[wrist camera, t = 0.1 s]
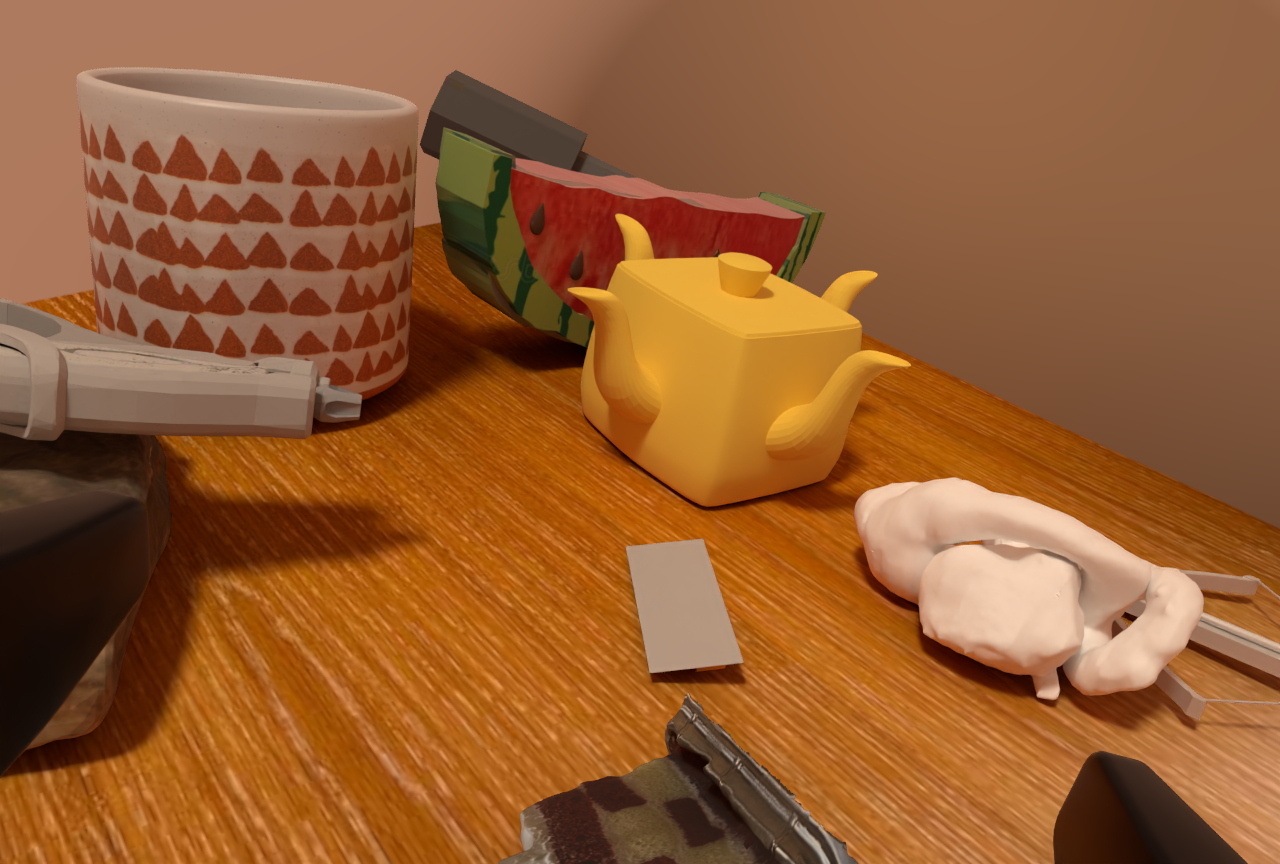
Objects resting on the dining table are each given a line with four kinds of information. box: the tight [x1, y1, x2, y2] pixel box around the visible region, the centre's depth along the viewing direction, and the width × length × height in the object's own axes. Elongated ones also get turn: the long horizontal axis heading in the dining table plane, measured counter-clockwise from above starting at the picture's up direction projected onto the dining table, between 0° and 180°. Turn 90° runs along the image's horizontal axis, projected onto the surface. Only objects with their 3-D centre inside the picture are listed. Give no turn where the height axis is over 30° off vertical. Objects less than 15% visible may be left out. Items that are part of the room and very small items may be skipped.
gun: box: [0, 298, 362, 441], centre depth 32 cm, size 3×19×10 cm
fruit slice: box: [436, 127, 825, 348], centre depth 58 cm, size 26×6×10 cm, turn 130°
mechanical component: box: [420, 71, 637, 178], centre depth 75 cm, size 10×18×10 cm, turn 86°
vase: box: [76, 68, 418, 400], centre depth 45 cm, size 14×14×13 cm
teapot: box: [568, 214, 911, 507], centre depth 47 cm, size 15×14×10 cm
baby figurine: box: [854, 478, 1204, 700], centre depth 38 cm, size 9×12×8 cm
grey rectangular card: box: [626, 539, 744, 673], centre depth 36 cm, size 3×8×1 cm, turn 7°
